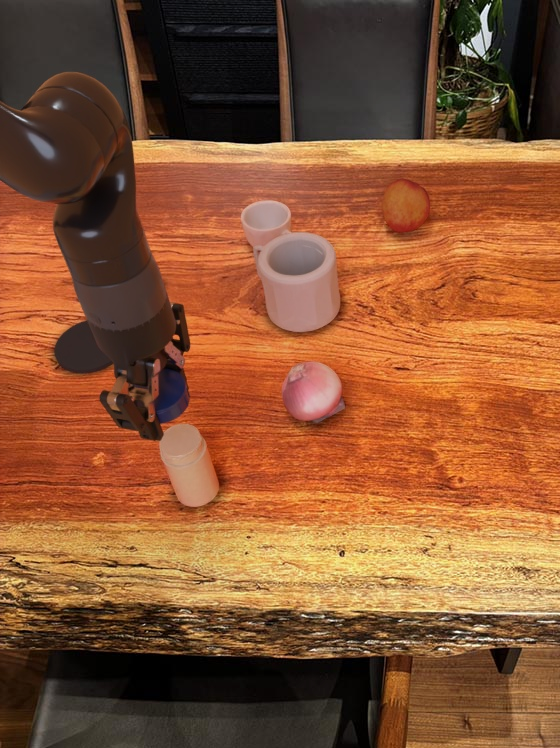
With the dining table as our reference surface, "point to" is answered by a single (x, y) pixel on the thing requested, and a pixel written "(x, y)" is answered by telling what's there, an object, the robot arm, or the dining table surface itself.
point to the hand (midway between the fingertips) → (166, 413)
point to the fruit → (405, 205)
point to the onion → (312, 392)
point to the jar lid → (169, 396)
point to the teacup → (265, 221)
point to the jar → (189, 465)
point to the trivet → (80, 350)
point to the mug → (299, 280)
